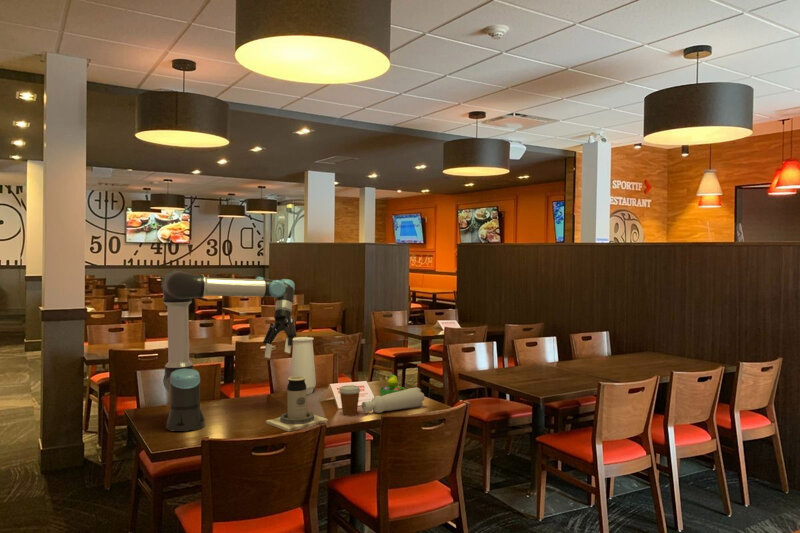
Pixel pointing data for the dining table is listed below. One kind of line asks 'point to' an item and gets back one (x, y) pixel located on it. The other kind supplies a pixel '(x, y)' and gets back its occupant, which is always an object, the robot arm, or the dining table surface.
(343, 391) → the disposable coffee cup
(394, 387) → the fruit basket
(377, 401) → the bottle
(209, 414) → the dining table surface
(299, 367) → the vase
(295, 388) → the travel mug
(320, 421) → the collar board
